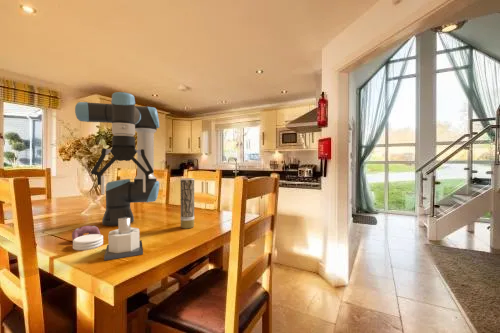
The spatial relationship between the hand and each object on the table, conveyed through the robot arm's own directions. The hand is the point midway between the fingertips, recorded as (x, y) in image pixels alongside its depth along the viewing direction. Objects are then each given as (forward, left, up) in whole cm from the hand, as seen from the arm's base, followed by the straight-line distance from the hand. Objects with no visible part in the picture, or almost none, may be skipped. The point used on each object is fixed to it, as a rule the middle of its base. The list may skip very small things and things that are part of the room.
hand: (124, 192), depth 87 cm
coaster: (-13, -13, -23) cm, 29 cm away
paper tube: (-22, +28, -22) cm, 42 cm away
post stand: (0, 0, -22) cm, 22 cm away
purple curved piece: (-21, -15, -22) cm, 34 cm away
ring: (0, 0, -21) cm, 21 cm away
